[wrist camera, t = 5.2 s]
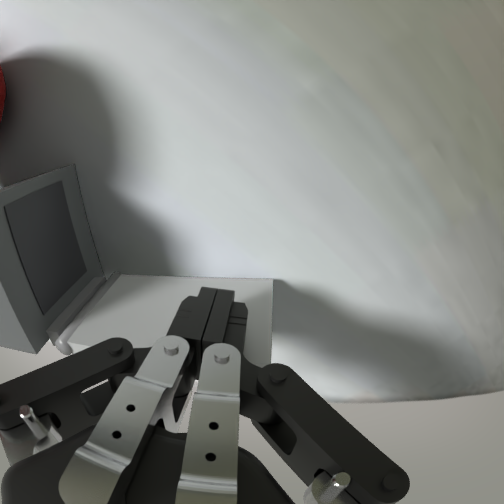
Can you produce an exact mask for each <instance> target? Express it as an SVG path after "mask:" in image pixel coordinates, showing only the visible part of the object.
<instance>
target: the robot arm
mask: <svg viewBox="0 0 504 504" xmlns="http://www.w3.org/2000/svg"><path fill="white" fill-rule="evenodd" d="M234 297H235V291H234V290H227V289H218V288H211V287H203V286H202V287H201V289H200V292H199V294H198V296H197V297H196V296H188V297H187V298H185V299H184V300H183V301H182V302H181V304H180V306H179V308H178V310H177V313H176V316H175V317H174V319H173V321H172V323H171V326H170V328H169V330H168V332H167V334H166V336H164V337H161V338H159V339H158V340H157V341H156V342H155V343H154V345H153V346H152V347H147V348H133V346H132V344H131V342H130V341H128V340H127V339H125V338H120V337H114V338H110V339H107V340H105V341H103V342H100V343H98V344H96V345H93V346H91V347H89V348H86V349H84V350H82V351H79V352H77V353H75V354H72V355H70V356H68V357H65V358H63V359H61V360H58V361H56V362H54V363H51V364H49V365H47V366H44V367H42V368H39V369H37V370H34V371H32V372H30V373H27V374H25V375H23V376H20V377H17V378H15V379H13V380H10V381H8V382H5V383H3V384H0V438H1V441H2V444H3V447H4V450H5V453H6V456H7V458H8V461H9V463H10V466H11V467H10V468H9V469H8V470H7V471H6V473H5V475H4V477H3V479H2V484H1V493H2V504H295V503H294V502H293V501H292V500H291V498H290V497H289V496H288V495H287V494H286V492H285V491H284V490H283V489H282V487H281V486H280V485H279V484H278V483H277V481H276V480H275V479H274V478H273V476H272V475H271V474H270V473H269V471H268V470H267V469H266V467H265V466H264V465H263V464H262V463H261V462H260V461H259V460H258V459H257V458H256V457H255V456H254V455H253V454H251V453H250V452H248V451H247V450H245V449H243V448H241V447H239V446H238V436H239V434H238V433H239V414H241V415H243V416H246V417H248V418H250V419H251V421H252V424H253V425H254V426H255V427H256V429H257V430H258V431H259V432H260V433H261V435H262V436H263V437H264V438H265V439H266V441H267V442H268V443H269V444H270V445H271V446H272V448H273V449H274V450H275V451H276V452H277V453H278V455H279V456H280V457H281V458H282V459H283V460H284V461H285V462H286V464H287V465H288V466H289V467H290V468H291V469H292V470H293V471H294V472H295V473H296V474H297V475H298V477H299V478H300V479H301V480H302V481H303V482H304V483H305V484H306V485H307V486H308V488H307V490H306V491H305V494H304V503H305V504H395V503H396V502H398V501H399V500H401V499H402V498H403V497H404V496H405V495H406V494H407V492H408V490H409V487H410V481H409V477H408V475H407V474H406V472H405V471H404V470H403V469H402V468H400V467H399V466H398V465H397V464H396V463H394V462H393V461H392V460H391V459H390V458H388V457H387V456H386V455H385V454H384V453H382V452H381V451H380V450H379V449H378V448H377V447H376V446H375V445H373V444H372V443H371V442H370V441H369V440H368V439H367V438H365V437H364V436H363V435H362V434H361V433H360V432H359V431H358V430H356V429H355V428H354V427H353V426H352V425H351V424H350V423H349V422H347V421H346V420H345V419H344V418H343V417H342V416H341V415H340V414H339V413H338V412H337V411H336V410H334V409H333V408H332V407H331V406H330V405H329V404H328V403H327V402H326V401H325V400H324V399H323V398H322V397H321V396H320V395H318V394H317V393H316V392H315V391H314V390H313V389H312V388H311V387H310V386H309V385H308V384H307V383H306V382H305V381H304V380H303V379H302V378H301V377H300V376H299V375H298V374H297V373H296V372H294V371H293V370H292V369H291V368H290V367H288V366H286V365H283V364H278V363H273V364H268V365H266V366H264V367H262V368H261V367H259V366H256V365H254V364H252V363H250V362H249V361H248V360H247V359H246V358H245V357H244V355H243V350H244V343H245V336H246V327H247V318H248V309H247V307H246V305H245V303H242V302H234ZM106 379H108V382H105V383H103V384H101V385H99V386H97V387H95V388H93V389H91V390H89V391H86V392H84V393H81V392H82V391H83V390H85V389H87V388H89V387H91V386H93V385H95V384H97V383H99V382H102V381H104V380H106ZM195 379H196V380H199V381H198V387H197V392H195V394H194V397H193V402H192V408H191V414H190V420H189V426H188V432H187V433H178V430H179V426H180V424H181V421H182V418H183V415H184V413H185V411H186V408H187V406H188V403H189V400H190V398H191V395H192V387H193V384H194V381H195ZM64 439H65V440H64ZM62 440H63V441H62Z"/></svg>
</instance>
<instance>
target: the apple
mask: <svg viewBox="0 0 504 504" xmlns="http://www.w3.org/2000/svg"><path fill="white" fill-rule="evenodd" d="M5 98H6V84H5V80H4V76H3V72H2V69H1V66H0V122H1V119H2V114H3V109H4V103H5Z"/></svg>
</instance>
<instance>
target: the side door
mask: <svg viewBox="0 0 504 504" xmlns="http://www.w3.org/2000/svg"><path fill="white" fill-rule="evenodd" d="M202 286H203V287H211V288H218V289H227V290H234V291H235V297H234V302H242V303H245V305H246V307H247V309H248V318H247V327H246V336H245V343H244V350H243V355H244V357H245V358H246V359H247V360H248V361H249V362H250V363H252V364H254V365H256V366H259V367H261V368H262V367H264V366H266V365H268V364H271V348H272V308H273V279H250V278H208V277H176V276H150V275H127V274H121V273H119V272H114V273H113V274H112V275H111V276H110V277H109V278H108V280H107V281H106V282H105V283H104V284H103V285H102V286H101V287H100V289H99V290H98V291H97V292H96V293H95V294H94V295H93V297H92V298H91V299H90V300H89V301H88V302H87V304H86V305H85V306H84V307H83V308H82V310H81V311H80V312H79V313H78V314H77V316H76V317H75V318H74V319H73V320H72V322H71V323H70V324H69V325H68V326H67V328H66V329H65V330H64V331H63V333H62V334H61V335H60V336H59V338H58V339H57V340H56V342H55V345H56V347H57V349H58V350H59V351H60V352H61V353H63V354H65V355H70V354H71V353H72V354H75V353H77V352H79V351H82V350H84V349H86V348H89V347H91V346H93V345H96V344H98V343H100V342H103V341H105V340H107V339H110V338H114V337H120V338H125V339H127V340H128V341H130V342H131V344H132V346H133V348H147V347H152V346H153V345H154V343H155V342H156V341H157V340H158V339H159V338H161V337H164V336H166V334H167V332H168V330H169V328H170V326H171V323H172V321H173V319H174V317H175V316H176V313H177V310H178V308H179V306H180V304H181V302H182V301H183V300H184V299H185V298H187V297H188V296H196V297H197V296H198V294H199V292H200V289H201V287H202Z"/></svg>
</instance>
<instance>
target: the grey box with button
mask: <svg viewBox="0 0 504 504" xmlns="http://www.w3.org/2000/svg"><path fill="white" fill-rule="evenodd" d="M103 276H104V274H103V271H102V268H101V265H100V262H99V259H98V256H97V252H96V249H95V246H94V242H93V239H92V236H91V232H90V228H89V225H88V221H87V217H86V213H85V209H84V205H83V201H82V197H81V193H80V188H79V184H78V179H77V174H76V169H75V164H73V165H69V166H66V167H63V168H60V169H56V170H53V171H50V172H47V173H44V174H41V175H38V176H35V177H32V178H29V179H26V180H24V181H21V182H18V183H15V184H13V185H10V186H7V187H5V188H2V189H0V346H1V347H5V348H10V349H14V350H18V351H23V352H27V353H32V354H37V353H38V352H39V351H40V350H41V348H42V347H43V346H44V345H45V343H46V342H47V341H48V340H49V338H50V340H51V342H52V344H53V345H54V346H56V345H55V342H56V340H57V339H58V338H59V336H60V335H61V334H62V333H63V331H64V330H65V329H66V328H67V326H68V325H69V324H70V323H71V322H72V320H73V319H74V318H75V317H76V316H77V314H78V313H79V312H80V311H81V310H82V308H83V307H84V306H85V305H86V304H87V302H88V301H89V300H90V299H91V298H92V297H93V295H94V294H95V293H96V292H97V291H98V290H99V289H100V287H101V286H102V285H103V284H104V283H105V282H106V278H105V277H103Z"/></svg>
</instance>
